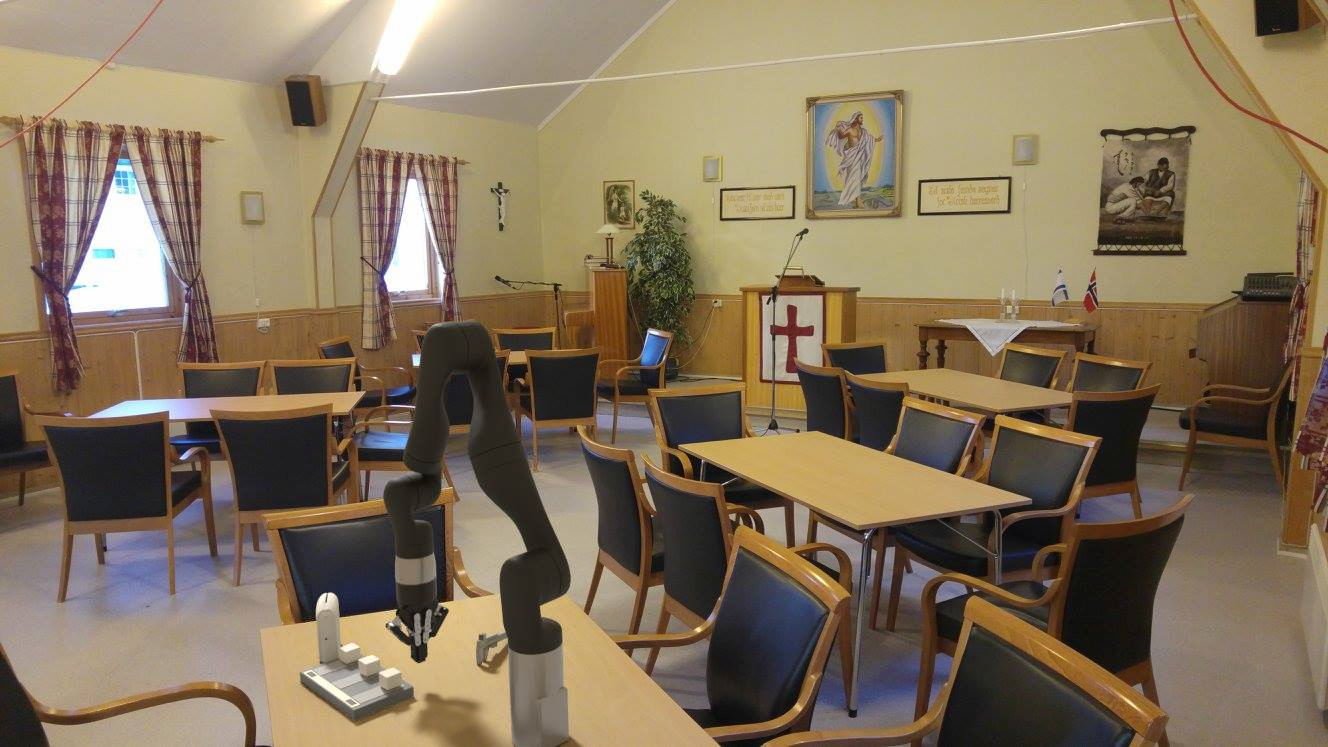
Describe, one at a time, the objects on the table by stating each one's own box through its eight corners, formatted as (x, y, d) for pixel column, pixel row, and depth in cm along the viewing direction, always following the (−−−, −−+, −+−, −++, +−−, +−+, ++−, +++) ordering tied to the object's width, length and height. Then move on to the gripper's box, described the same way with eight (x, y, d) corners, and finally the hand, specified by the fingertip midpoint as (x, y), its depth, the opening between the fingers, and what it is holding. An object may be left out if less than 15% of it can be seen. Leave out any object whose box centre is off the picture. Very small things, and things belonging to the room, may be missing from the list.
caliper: (481, 667, 182) (479, 637, 182) (476, 666, 183) (475, 636, 182) (528, 627, 202) (527, 600, 201) (523, 626, 202) (522, 599, 201)
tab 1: (360, 658, 181) (359, 647, 180) (346, 663, 179) (345, 652, 178) (353, 654, 183) (352, 642, 182) (339, 659, 181) (338, 647, 180)
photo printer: (340, 661, 185) (336, 604, 183) (317, 664, 184) (313, 607, 182) (342, 641, 195) (338, 586, 193) (321, 643, 194) (317, 589, 192)
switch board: (413, 696, 170) (413, 685, 170) (354, 720, 162) (353, 709, 161) (357, 660, 185) (356, 651, 185) (300, 681, 177) (299, 671, 176)
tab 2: (401, 684, 170) (401, 672, 169) (387, 690, 168) (386, 677, 167) (393, 679, 172) (393, 667, 171) (379, 685, 170) (378, 672, 169)
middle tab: (380, 671, 175) (380, 659, 175) (366, 676, 173) (365, 664, 173) (373, 666, 177) (372, 654, 177) (358, 671, 175) (358, 659, 175)
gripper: (394, 590, 164) (398, 679, 167) (456, 571, 174) (459, 655, 176) (374, 580, 170) (378, 666, 172) (435, 562, 179) (438, 644, 181)
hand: (419, 660), depth 174 cm, fingers closed
